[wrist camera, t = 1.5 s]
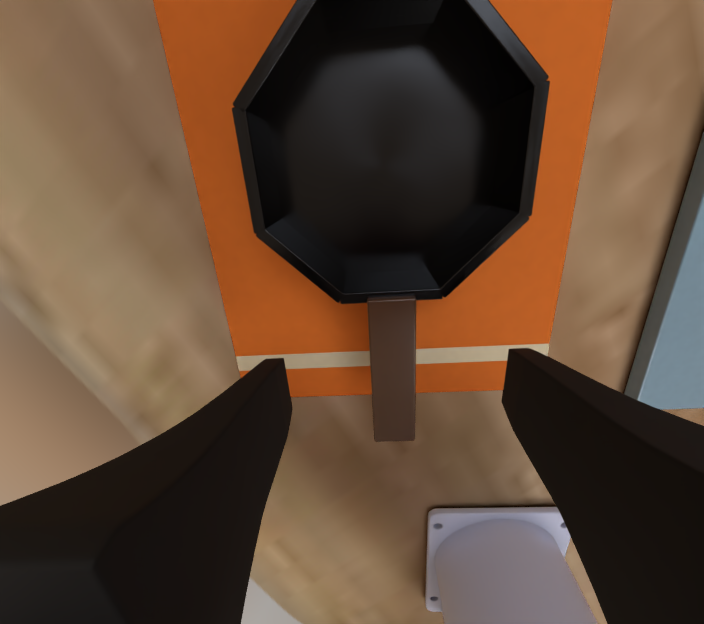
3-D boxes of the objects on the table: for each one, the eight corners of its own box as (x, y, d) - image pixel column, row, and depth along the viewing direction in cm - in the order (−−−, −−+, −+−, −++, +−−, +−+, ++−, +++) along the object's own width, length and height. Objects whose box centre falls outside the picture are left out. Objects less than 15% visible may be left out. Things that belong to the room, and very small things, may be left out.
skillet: (246, 30, 11) (204, -18, 8) (517, 4, 10) (576, -59, 7) (302, 397, 16) (289, 444, 13) (479, 391, 16) (504, 439, 13)
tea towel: (538, 385, 16) (541, 389, 16) (247, 395, 17) (245, 399, 16) (662, -312, 8) (674, -330, 8) (104, -229, 9) (95, -243, 9)
